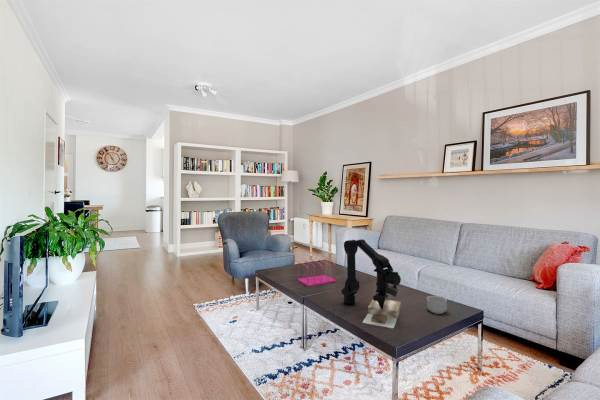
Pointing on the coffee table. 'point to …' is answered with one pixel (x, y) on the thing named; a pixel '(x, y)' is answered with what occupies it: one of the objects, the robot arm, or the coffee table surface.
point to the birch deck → (385, 308)
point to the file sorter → (316, 279)
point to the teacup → (437, 304)
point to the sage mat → (389, 323)
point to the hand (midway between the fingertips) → (381, 308)
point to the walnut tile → (379, 318)
